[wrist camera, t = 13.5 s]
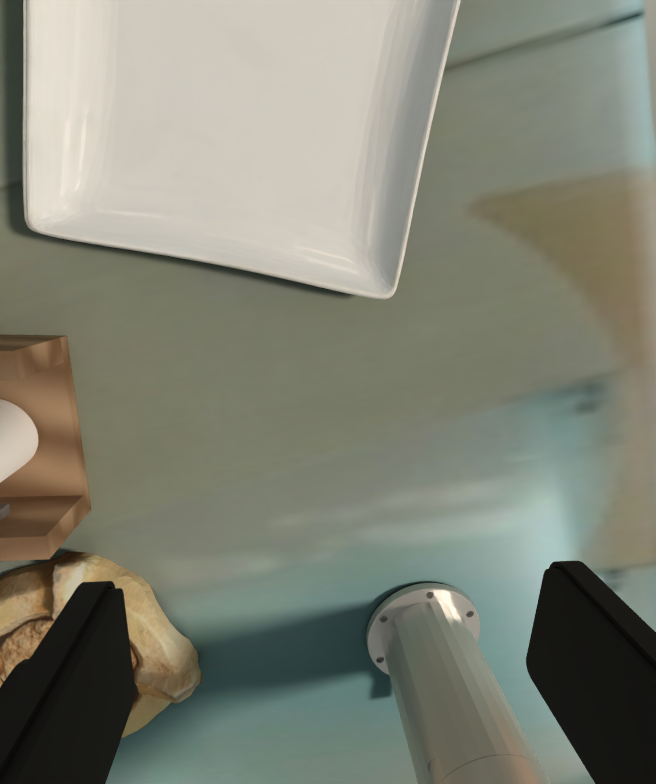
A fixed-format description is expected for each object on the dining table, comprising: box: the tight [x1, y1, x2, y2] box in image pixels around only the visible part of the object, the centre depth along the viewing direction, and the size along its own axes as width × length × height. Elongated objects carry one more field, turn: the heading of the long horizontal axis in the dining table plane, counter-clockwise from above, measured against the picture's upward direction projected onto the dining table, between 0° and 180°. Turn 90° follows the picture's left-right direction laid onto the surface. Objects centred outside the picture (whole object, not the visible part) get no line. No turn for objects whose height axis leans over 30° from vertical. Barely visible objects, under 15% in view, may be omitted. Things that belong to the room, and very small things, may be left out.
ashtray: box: [0, 552, 202, 738], centre depth 40 cm, size 24×24×5 cm
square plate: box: [23, 0, 461, 299], centre depth 29 cm, size 27×27×4 cm
